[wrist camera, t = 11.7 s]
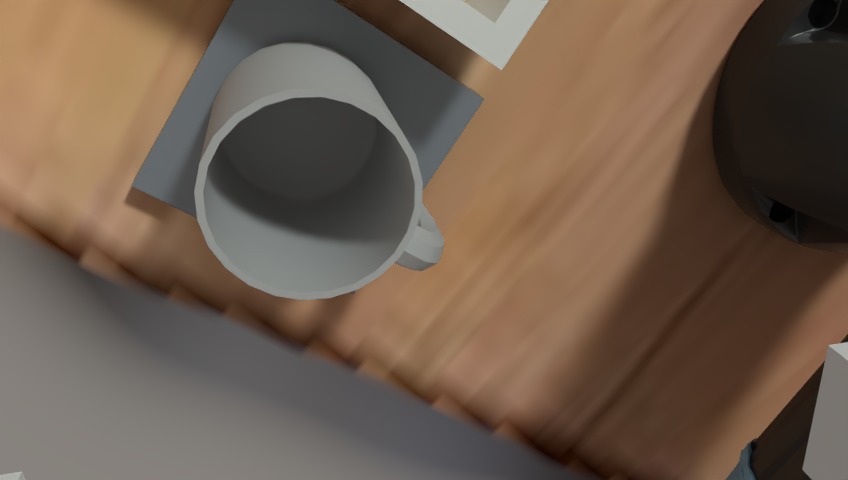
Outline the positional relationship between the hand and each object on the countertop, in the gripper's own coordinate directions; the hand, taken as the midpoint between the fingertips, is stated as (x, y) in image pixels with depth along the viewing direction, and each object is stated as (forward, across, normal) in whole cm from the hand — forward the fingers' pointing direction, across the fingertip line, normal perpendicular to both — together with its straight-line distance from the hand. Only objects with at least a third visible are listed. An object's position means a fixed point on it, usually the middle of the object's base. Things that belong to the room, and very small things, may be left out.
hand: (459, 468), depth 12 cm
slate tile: (+23, +1, +1) cm, 23 cm away
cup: (+22, +1, +1) cm, 22 cm away
